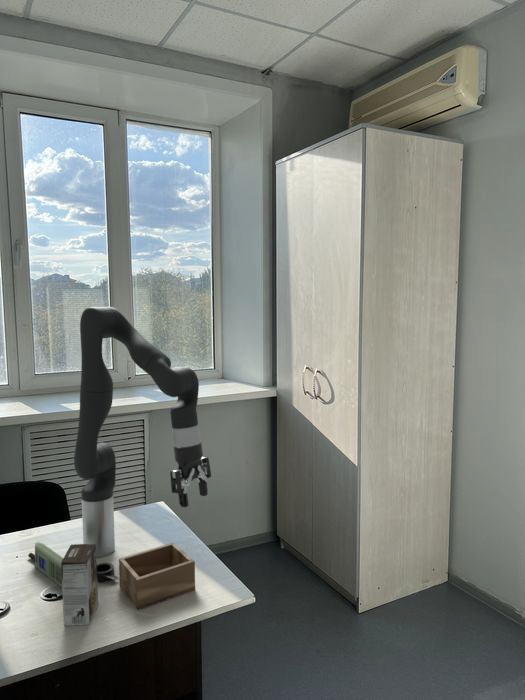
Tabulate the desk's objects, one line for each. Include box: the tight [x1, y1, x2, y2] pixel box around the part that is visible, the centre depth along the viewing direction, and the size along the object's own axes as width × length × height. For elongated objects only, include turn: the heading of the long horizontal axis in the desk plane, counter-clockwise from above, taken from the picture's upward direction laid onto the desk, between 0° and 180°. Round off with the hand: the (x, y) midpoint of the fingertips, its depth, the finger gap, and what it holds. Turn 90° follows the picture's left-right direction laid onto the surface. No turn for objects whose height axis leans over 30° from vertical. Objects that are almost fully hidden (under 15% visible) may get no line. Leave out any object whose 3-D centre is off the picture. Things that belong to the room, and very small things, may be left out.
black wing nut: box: [97, 562, 120, 584], centre depth 146 cm, size 8×10×3 cm
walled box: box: [118, 542, 196, 611], centre depth 140 cm, size 13×16×8 cm
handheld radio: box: [27, 541, 64, 588], centre depth 149 cm, size 7×3×25 cm
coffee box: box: [61, 543, 99, 627], centre depth 129 cm, size 9×6×16 cm
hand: (194, 500), depth 143 cm, fingers open, 8 cm apart
